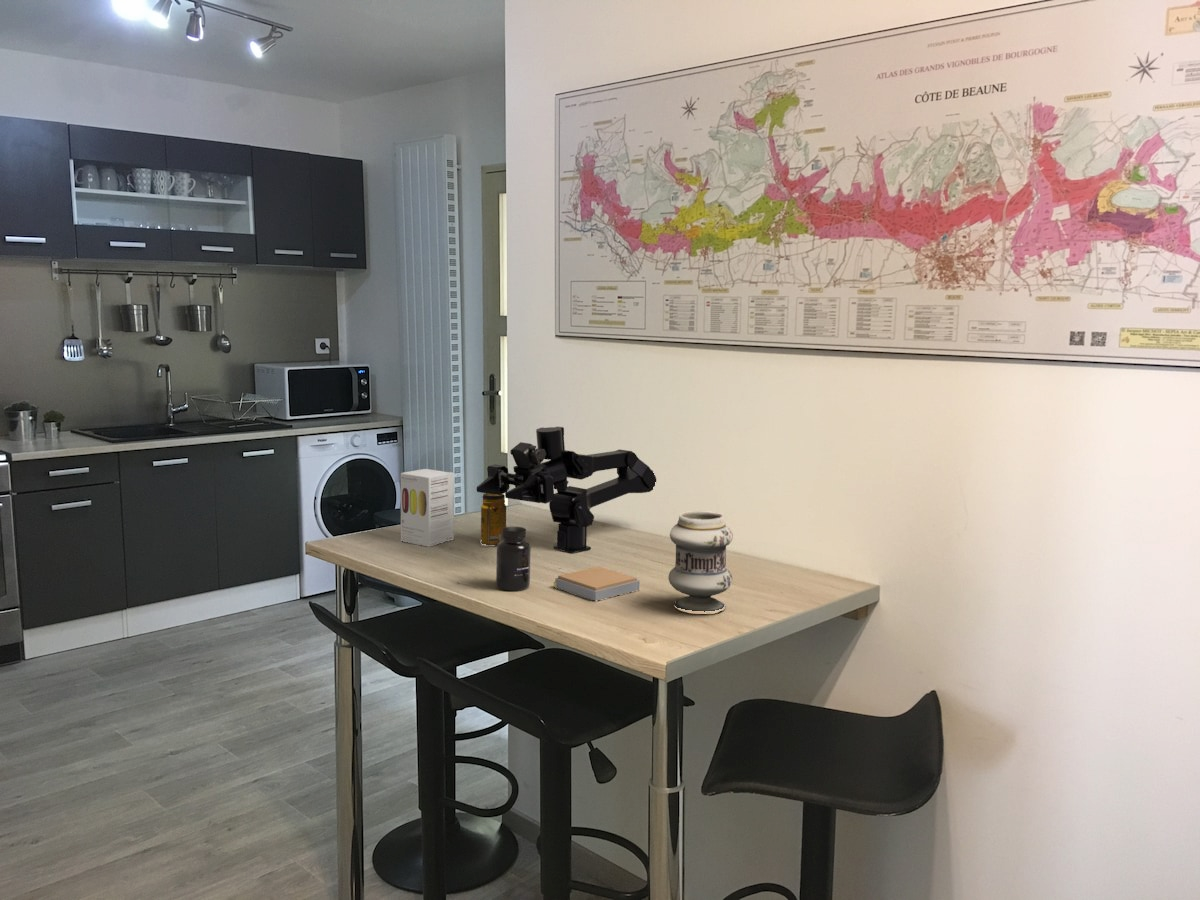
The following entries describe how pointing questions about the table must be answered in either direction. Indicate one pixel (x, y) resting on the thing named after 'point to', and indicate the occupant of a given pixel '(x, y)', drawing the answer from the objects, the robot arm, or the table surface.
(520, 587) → the supplement bottle
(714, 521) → the apothecary jar
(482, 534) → the condiment
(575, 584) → the note pad
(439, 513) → the supplement box
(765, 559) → the table surface
